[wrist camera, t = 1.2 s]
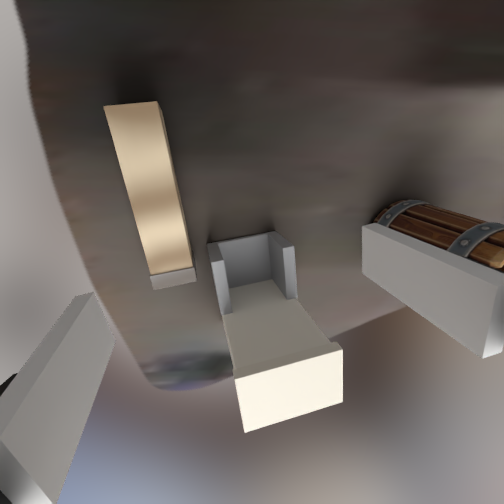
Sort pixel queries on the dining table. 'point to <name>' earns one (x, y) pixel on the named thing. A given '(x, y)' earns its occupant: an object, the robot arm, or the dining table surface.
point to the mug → (447, 230)
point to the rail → (153, 191)
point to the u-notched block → (272, 332)
